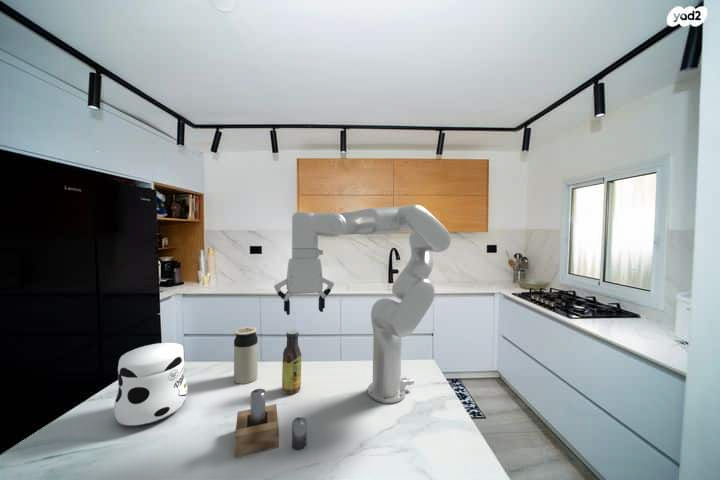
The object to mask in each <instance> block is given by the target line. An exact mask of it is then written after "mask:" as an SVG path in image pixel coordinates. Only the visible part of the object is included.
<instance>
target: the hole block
mask: <svg viewBox="0 0 720 480" xmlns="http://www.w3.org/2000/svg"><path fill="white" fill-rule="evenodd" d="M277 407H278V406H277V404H271V405H270V404H269V405H265V424H261V425H256V426H252V427H250V418H251V408H249V409H244V410H239V411H237V415H236V416H237V417H236V424H235V426H236V427H235V432H234V458H239V457H243V456H247V455H250V454H251V455H252V454H254V453H259V452H263V451H267V450H271V449H275V448H279V446H280V445H279V444H280V443H279V439H280V438H279V436H280V434H279V433H280V432H279V431H280V430H279V429H280V427H279V417H278V409H277Z"/></svg>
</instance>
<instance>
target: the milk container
mask: <svg viewBox="0 0 720 480" xmlns="http://www.w3.org/2000/svg"><path fill="white" fill-rule="evenodd" d="M184 353H185V352H184V346H183V345H182V344H180V343H176V342H161V343H160V342H157V343H153V344H148V345H144V346H140V347H138V348H137V347H136V348H135V349H132V350H130V351H127V352H126V353H124V354H123V355H121V356H120V358H119V360H118V366H117V373H118V374H117V380H118V385H117V386H118V387H117V389H118V390H117V394H116V398H115V400H114V401H115V402H114V406H113V411H114V412H113V413H114V416H115V419H116V421H117V422H118V423H119V424H120V425H123V426H126V427H143V426H147V425H151V424H155V423H157V422H159V421H163V420H165V419H167V418H168V417H171V415H174V414H175V413H176V412H177V411H178V410H179V409H181V408H182V407H183V406H184V403H185V402H186V400H187V396H188V383H187V380H186V377H185V370H184V369H185V359H184V357H185V356H184V355H185V354H184Z"/></svg>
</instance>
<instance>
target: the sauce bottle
mask: <svg viewBox="0 0 720 480" xmlns="http://www.w3.org/2000/svg"><path fill="white" fill-rule="evenodd" d="M299 333H300V332H299V331H298V330H295V329H294V330H293V329H292V330H289V331H286V335H285V336H286V346H285V348H284V350H283V352H282V366H281V367H282V369H281V370H282V373H281V375H282V377H281V379H282V380H281V387H282V392H283V393H284V394H286V395H293V394H297V393H298V392H299V391H300V390H301V385H302V352H301V349H300V347H299V336H300V335H299Z"/></svg>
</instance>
